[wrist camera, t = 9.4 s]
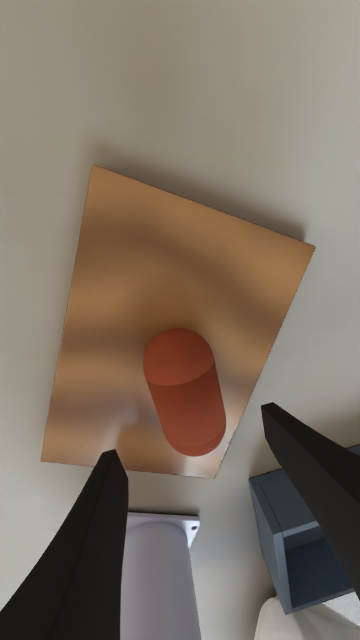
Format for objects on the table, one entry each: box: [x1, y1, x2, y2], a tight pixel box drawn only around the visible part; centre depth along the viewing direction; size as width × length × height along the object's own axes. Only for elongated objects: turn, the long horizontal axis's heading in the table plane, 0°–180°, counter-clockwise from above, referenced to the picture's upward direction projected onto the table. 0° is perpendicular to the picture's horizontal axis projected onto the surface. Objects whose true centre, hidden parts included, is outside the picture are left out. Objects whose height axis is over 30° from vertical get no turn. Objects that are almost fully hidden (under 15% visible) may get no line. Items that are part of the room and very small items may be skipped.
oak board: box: [41, 165, 316, 479], centre depth 17 cm, size 20×14×1 cm
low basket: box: [249, 445, 360, 615], centre depth 23 cm, size 18×13×5 cm
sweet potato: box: [143, 328, 226, 457], centre depth 15 cm, size 8×4×4 cm, turn 13°
